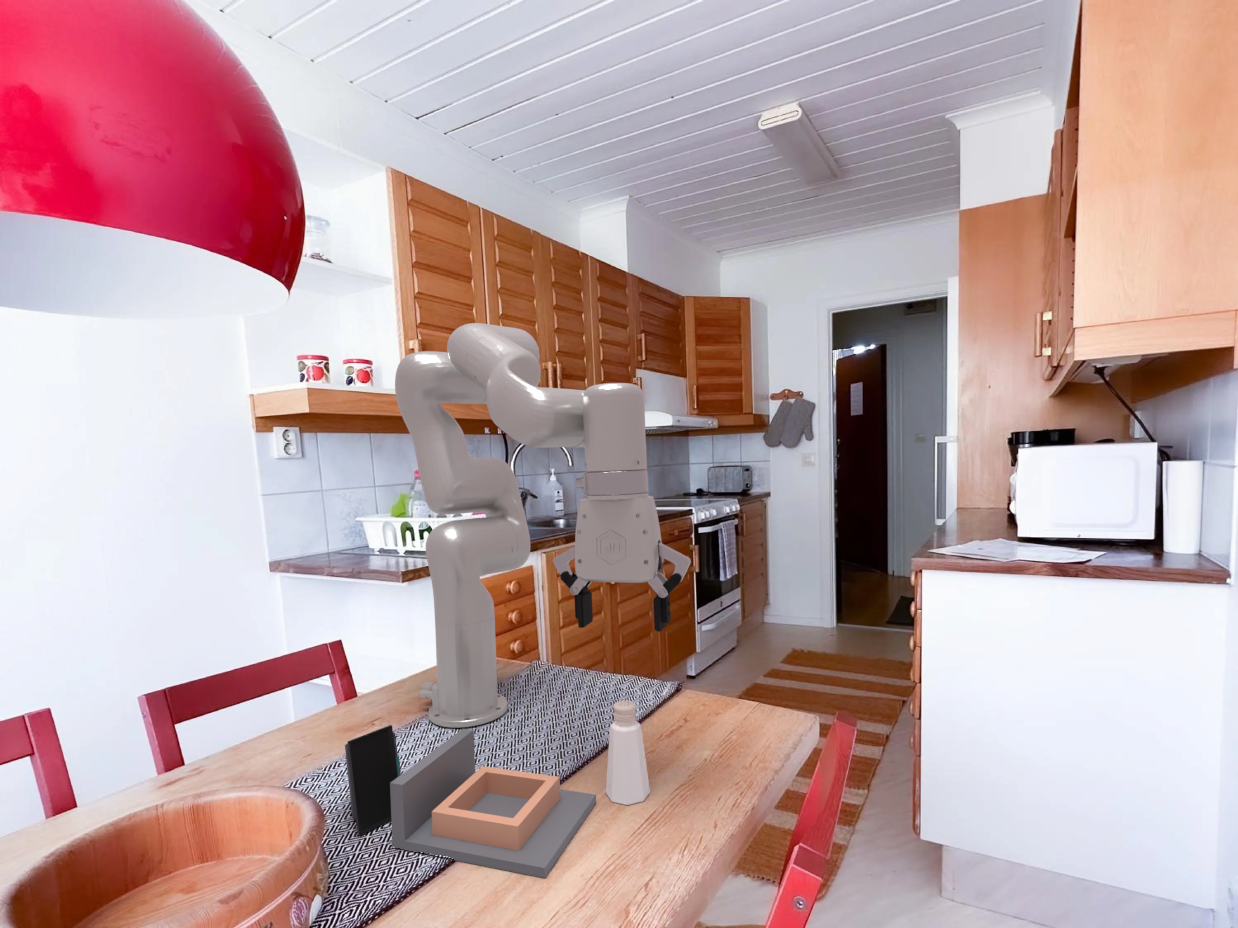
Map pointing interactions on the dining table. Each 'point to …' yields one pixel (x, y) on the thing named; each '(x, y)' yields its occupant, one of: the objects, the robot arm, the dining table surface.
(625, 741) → the salt shaker
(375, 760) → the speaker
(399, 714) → the dining table surface
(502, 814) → the gray walled base stand
